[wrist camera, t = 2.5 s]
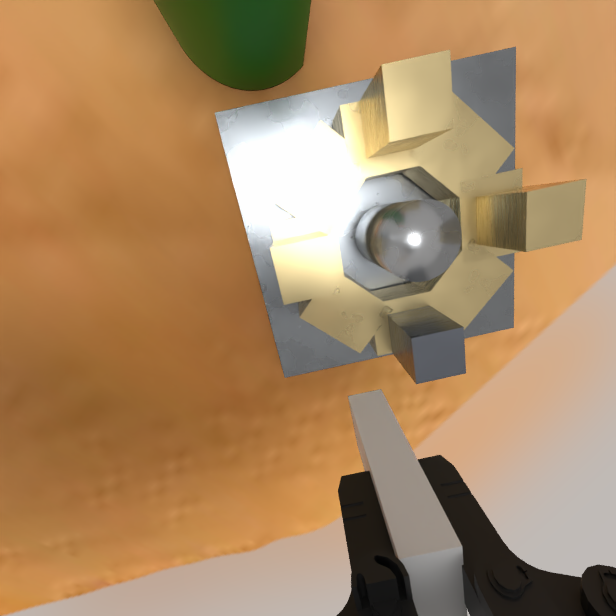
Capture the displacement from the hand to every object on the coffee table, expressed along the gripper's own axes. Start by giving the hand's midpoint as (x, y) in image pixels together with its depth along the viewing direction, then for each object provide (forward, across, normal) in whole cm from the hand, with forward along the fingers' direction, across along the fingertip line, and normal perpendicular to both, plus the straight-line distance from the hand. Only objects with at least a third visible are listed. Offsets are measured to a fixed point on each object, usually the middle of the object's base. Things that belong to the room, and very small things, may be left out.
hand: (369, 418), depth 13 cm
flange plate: (+13, +5, +7) cm, 15 cm away
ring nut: (+11, +5, +7) cm, 14 cm away
